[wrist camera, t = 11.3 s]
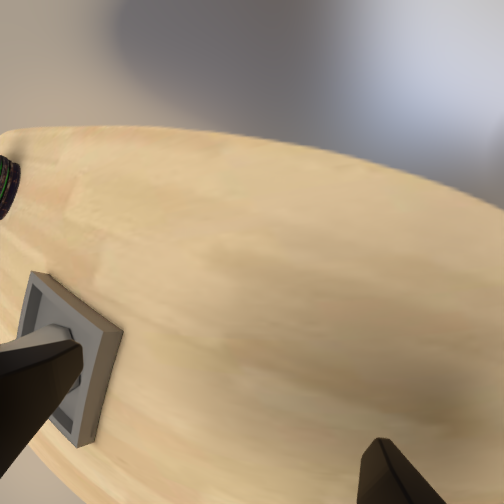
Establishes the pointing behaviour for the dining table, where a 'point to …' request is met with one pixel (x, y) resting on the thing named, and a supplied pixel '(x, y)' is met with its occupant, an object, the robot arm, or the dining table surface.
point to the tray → (94, 352)
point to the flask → (40, 340)
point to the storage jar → (8, 184)
